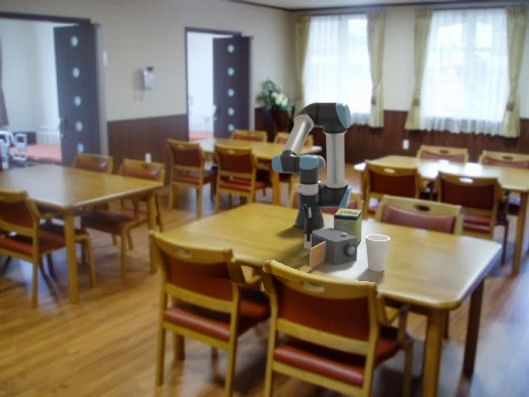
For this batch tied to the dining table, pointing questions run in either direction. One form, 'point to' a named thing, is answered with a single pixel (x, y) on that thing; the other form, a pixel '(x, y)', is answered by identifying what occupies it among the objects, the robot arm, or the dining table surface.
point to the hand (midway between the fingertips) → (308, 247)
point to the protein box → (349, 222)
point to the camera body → (336, 245)
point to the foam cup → (377, 251)
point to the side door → (317, 254)
